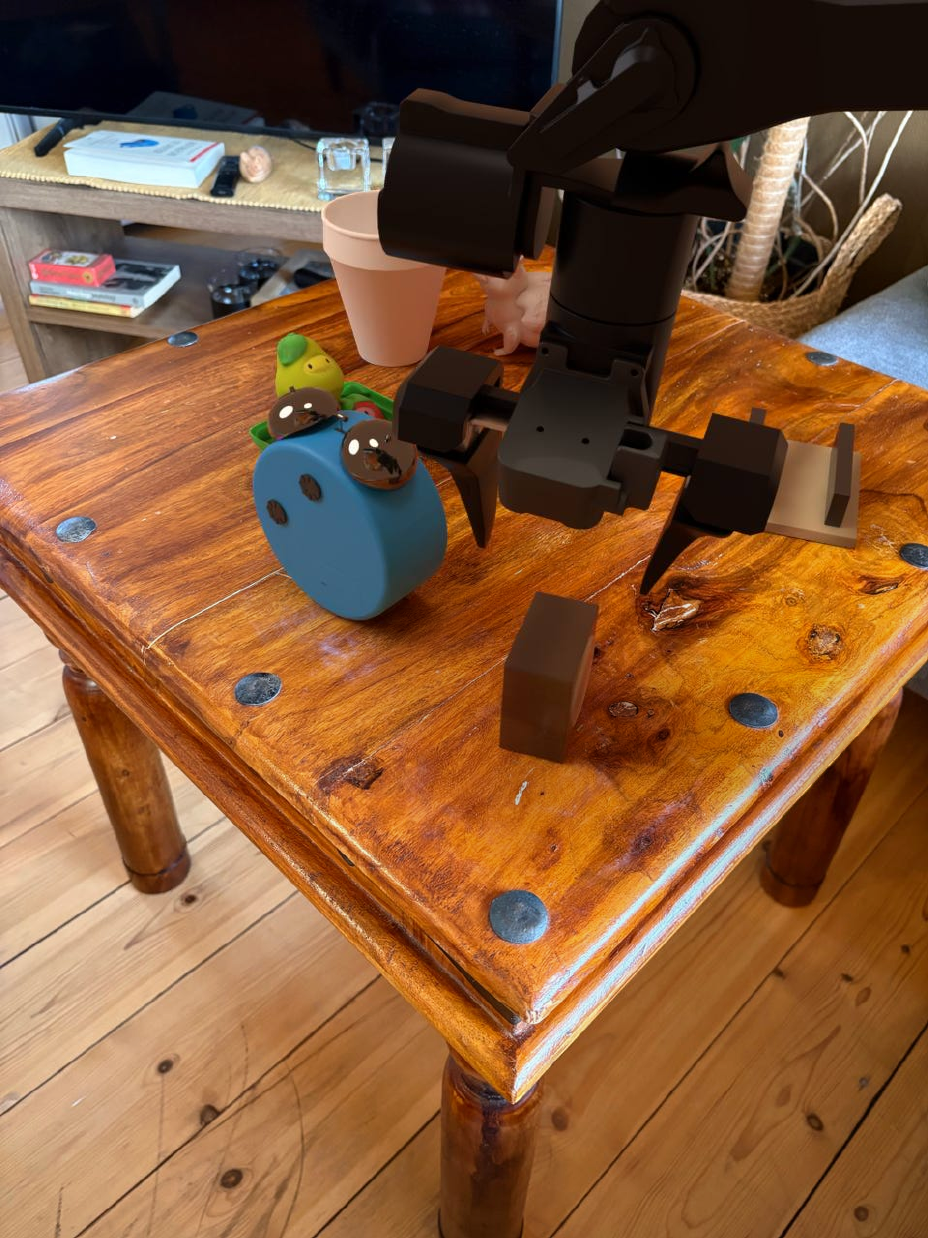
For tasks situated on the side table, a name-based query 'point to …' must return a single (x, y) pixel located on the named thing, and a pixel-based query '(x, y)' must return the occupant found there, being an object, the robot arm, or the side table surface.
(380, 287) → the cup
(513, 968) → the side table surface
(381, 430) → the alarm clock
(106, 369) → the side table surface
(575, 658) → the dark brown block
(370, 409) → the fruit basket
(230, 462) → the side table surface
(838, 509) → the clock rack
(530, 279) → the figurine
